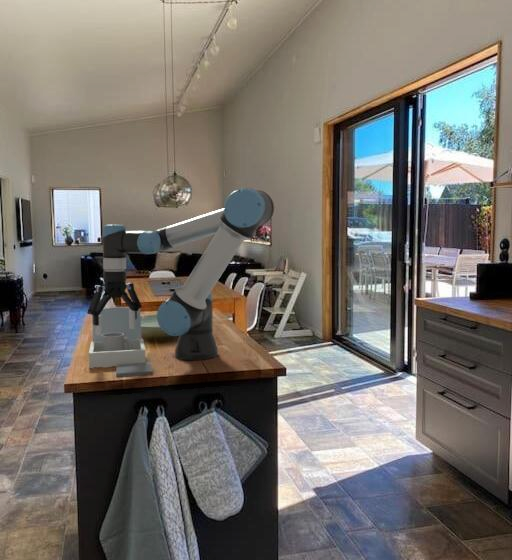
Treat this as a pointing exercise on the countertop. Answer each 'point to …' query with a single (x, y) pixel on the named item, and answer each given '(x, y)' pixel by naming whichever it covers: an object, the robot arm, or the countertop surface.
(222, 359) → the countertop surface
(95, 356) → the cold frame
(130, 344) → the cup
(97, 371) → the countertop surface
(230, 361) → the countertop surface
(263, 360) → the countertop surface
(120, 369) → the slate tile
